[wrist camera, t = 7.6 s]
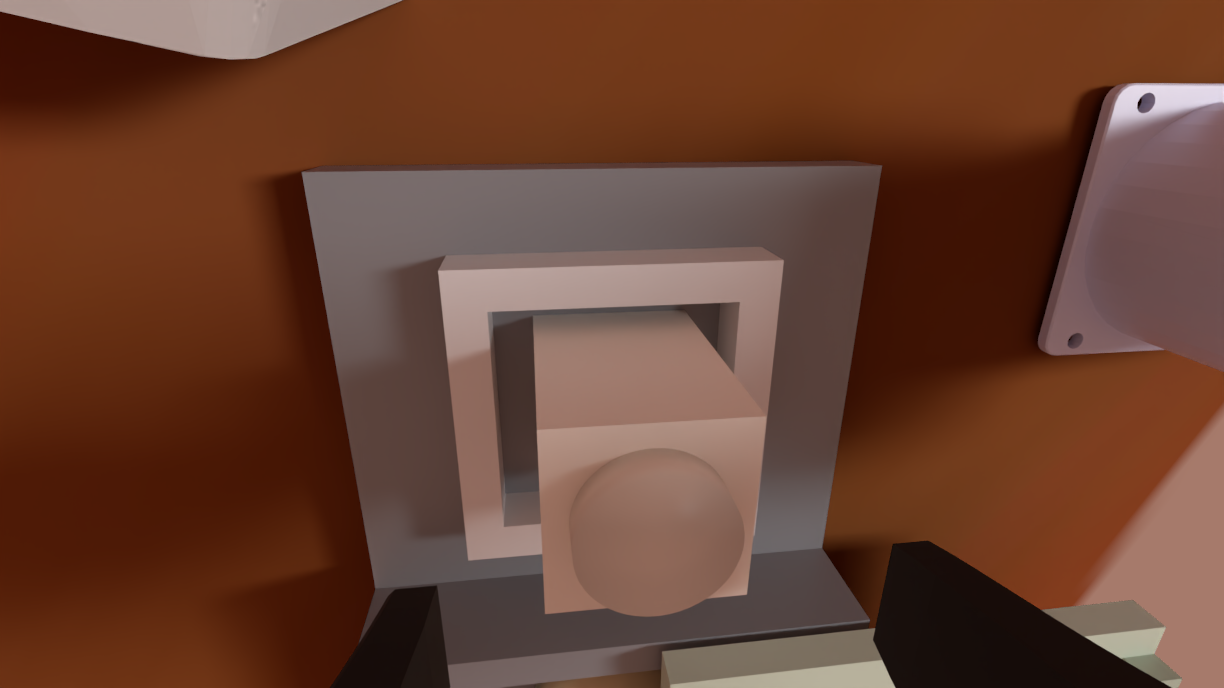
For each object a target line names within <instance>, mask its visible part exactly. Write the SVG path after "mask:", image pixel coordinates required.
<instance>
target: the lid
mask: <svg viewBox="0 0 1224 688" xmlns="http://www.w3.org/2000/svg"><path fill="white" fill-rule="evenodd" d="M1042 611H1043V612H1045V613H1047V614H1048V615H1050V616H1051V617H1053V618H1055V619H1056V620H1058V621H1060V622H1061V623H1063V624H1064V625H1066V626H1068V627H1069V628H1071V629H1073V630H1074V631H1076V632H1077V633H1079V634H1081V635H1082V636H1084V637H1086V638H1087V639H1089V640H1091V641H1092V642H1094V643H1096V644H1097V645H1099V646H1101V647H1102V648H1104V649H1106V650H1107V651H1109V652H1111V653H1112V654H1114V655H1116V656H1118V657H1119V658H1121V659H1123V660H1124V661H1126V662H1128V663H1129V664H1131V665H1133V666H1135V667H1136V668H1138V669H1140V670H1142V671H1144V672H1145V673H1147V674H1149V675H1151V676H1152V677H1154V678H1156V679H1158V680H1159V681H1161V682H1163V683H1165V684H1166V685H1168V686H1170V687H1172V688H1178V687H1179V685H1180V682H1181V681H1182V678H1181V677H1180V676H1179V675H1178V674H1177V673H1176V672H1174V671H1173V670H1172V669H1171V668H1170V667H1169V666H1168V665H1166V664H1165V663H1164V662H1163V661H1162V660H1161V659H1160V658H1158V657H1157V656H1156V655H1155V651H1156V649H1157V647H1158V644H1159V642H1160V640H1161V638H1162V635H1163V633H1164V631H1165V628H1166V627H1165V626H1164V625H1163V624H1162V623H1161V622H1159V621H1158V620H1157V619H1156V618H1154V617H1153V616H1152V615H1151V614H1150V613H1148V612H1147V611H1146V610H1145V609H1143V608H1142V607H1141V606H1140V605H1138V604H1137V603H1136V602H1135V601H1134V600H1128V601H1119V602H1110V603H1101V604H1092V605H1083V606H1073V607H1064V608H1055V609H1046V610H1042ZM874 632H875V628H872V629H863V630H854V631H845V632H836V633H827V634H817V635H808V636H799V637H790V638H781V639H772V640H763V641H753V642H744V643H735V644H726V645H717V646H708V647H699V648H689V649H680V650H671V651H662V666H661V688H895V686H894V684H893V682H892V680H891V678H890V676H889V674H888V672H887V669H886V667H885V665H884V663H883V661H882V658H881V656H880V654H879V652H878V650H877V648H876V645H875V643H874V641H873V637H874Z"/></svg>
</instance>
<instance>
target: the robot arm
mask: <svg viewBox="0 0 1224 688" xmlns="http://www.w3.org/2000/svg"><path fill="white" fill-rule="evenodd" d="M1141 97H1142V103H1141V105H1140V107H1139V109H1137V105H1138V101H1139V99H1140V98H1141ZM1072 335H1073V336H1072ZM1071 336H1072V338H1071V340H1070V341H1069V342H1068V340H1069V338H1070V337H1071ZM1038 346H1039V348H1040V349H1041V350H1042V351H1044V352H1046V353H1048V354H1050V355H1055V356H1057V355H1076V354H1094V353H1113V352H1132V351H1151V350H1168V351H1170V352H1173V353H1176V354H1178V355H1181V356H1183V357H1186V358H1189V359H1191V360H1194V361H1196V362H1199V363H1202V364H1204V365H1207V366H1209V367H1212V368H1215V369H1217V370H1220V371H1222V372H1224V84H1177V83H1126V84H1120V85H1117V86H1115V87H1114V88H1112V89H1111V90H1110V91H1109V93H1108V94H1107V95H1106V97H1105V99H1104V101H1103V104H1102V108H1101V111H1100V115H1099V118H1098V122H1097V126H1096V129H1095V133H1094V137H1093V140H1092V144H1091V148H1090V151H1089V155H1088V159H1087V162H1086V166H1085V170H1084V173H1083V177H1082V181H1081V184H1080V188H1079V191H1078V195H1077V199H1076V202H1075V206H1074V210H1073V213H1072V217H1071V221H1070V224H1069V228H1068V232H1067V235H1066V239H1065V243H1064V246H1063V250H1062V253H1061V257H1060V261H1059V264H1058V268H1057V272H1056V275H1055V279H1054V283H1053V286H1052V290H1051V294H1050V297H1049V301H1048V305H1047V308H1046V312H1045V316H1044V319H1043V323H1042V326H1041V330H1040V334H1039V337H1038ZM873 641H874V643H875V645H876V648H877V650H878V652H879V654H880V656H881V658H882V661H883V663H884V665H885V667H886V669H887V672H888V674H889V676H890V678H891V680H892V682H893V684H894V686H895V688H1172V687H1170V686H1168V685H1166V684H1165V683H1163V682H1161V681H1159V680H1158V679H1156V678H1154V677H1152V676H1151V675H1149V674H1147V673H1145V672H1144V671H1142V670H1140V669H1138V668H1136V667H1135V666H1133V665H1131V664H1129V663H1128V662H1126V661H1124V660H1123V659H1121V658H1119V657H1118V656H1116V655H1114V654H1112V653H1111V652H1109V651H1107V650H1106V649H1104V648H1102V647H1101V646H1099V645H1097V644H1096V643H1094V642H1092V641H1091V640H1089V639H1087V638H1086V637H1084V636H1082V635H1081V634H1079V633H1077V632H1076V631H1074V630H1073V629H1071V628H1069V627H1068V626H1066V625H1064V624H1063V623H1061V622H1060V621H1058V620H1056V619H1055V618H1053V617H1051V616H1050V615H1048V614H1047V613H1045V612H1043V611H1042V610H1040V609H1039V608H1037V607H1035V606H1034V605H1032V604H1031V603H1029V602H1027V601H1026V600H1024V599H1023V598H1021V597H1020V596H1018V595H1016V594H1015V593H1013V592H1012V591H1010V590H1008V589H1007V588H1005V587H1004V586H1002V585H1000V584H999V583H997V582H996V581H994V580H993V579H991V578H989V577H988V576H986V575H985V574H983V573H981V572H980V571H978V570H977V569H975V568H973V567H972V566H970V565H968V564H967V563H965V562H964V561H962V560H960V559H959V558H957V557H955V556H954V555H952V554H950V553H949V552H947V551H945V550H944V549H942V548H940V547H938V546H937V545H935V544H933V543H931V542H929V541H920V542H909V543H898V544H893V546H892V551H891V556H890V560H889V565H888V570H887V575H886V580H885V584H884V589H883V594H882V599H881V603H880V608H879V613H878V618H877V623H876V627H875V632H874V637H873ZM330 688H450V680H449V672H448V665H447V657H446V649H445V641H444V634H443V626H442V618H441V611H440V603H439V595H438V588H437V585H436V586H425V587H414V588H403V589H395V590H394V591H393V592H392V593H391V594H390V595H388V597H387V598H386V600H385V602H384V603H383V605H382V607H381V609H380V610H379V612H378V614H377V615H376V617H375V619H374V620H373V622H372V623H371V625H370V627H369V628H368V630H367V632H366V633H365V635H364V636H363V638H362V640H361V641H360V643H359V644H358V646H357V648H356V649H355V651H354V652H353V654H352V655H351V657H350V658H349V660H348V661H347V663H346V664H345V666H344V667H343V669H342V671H341V672H340V674H339V675H338V677H337V678H336V680H335V681H334V682H333V684H332V685H331V687H330Z"/></svg>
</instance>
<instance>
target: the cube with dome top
mask: <svg viewBox="0 0 1224 688" xmlns="http://www.w3.org/2000/svg"><path fill="white" fill-rule="evenodd" d="M533 335H534V364H535V393H536V422H537V446H538V469H539V491H540V513H541V536H542V558H543V580H544V603H545V614H552V613H562V612H573V611H583V610H594V609H604V608H608V609H611V610H613V611H616V612H619V613H622V614H626V615H632V616H642V617H651V616H662V615H668V614H672V613H676V612H679V611H682V610H685V609H688V608H690V607H692V606H694V605H696V604H698V603H700V602H702V601H703V600H705V599H707V598H718V597H728V596H738V595H747V589H748V580H749V571H750V562H751V553H752V544H753V534H754V525H755V516H756V507H757V498H758V489H759V480H760V471H761V461H762V452H763V443H764V434H765V425H766V415H765V414H764V412H763V411H762V410H761V409H760V407H759V406H758V405H757V403H756V402H755V401H754V399H753V398H752V397H751V396H750V394H749V393H748V392H747V390H746V389H745V388H744V387H743V385H742V384H741V383H740V381H739V380H738V379H737V377H736V376H735V375H734V374H733V372H732V371H731V370H730V368H729V367H728V366H727V365H726V363H725V362H724V361H723V359H722V358H721V357H720V355H719V354H718V353H717V352H716V350H715V349H714V348H713V346H712V345H711V344H710V343H709V341H708V340H707V339H706V337H705V336H704V335H703V333H702V332H701V331H700V330H699V328H698V327H697V326H696V324H695V323H694V322H693V321H692V319H691V318H690V317H689V315H688V314H687V313H686V311H685V310H671V311H644V312H616V313H589V314H562V315H534V316H533Z"/></svg>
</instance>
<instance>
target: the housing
mask: <svg viewBox="0 0 1224 688" xmlns="http://www.w3.org/2000/svg"><path fill="white" fill-rule="evenodd" d="M881 170H882V166H881V165H875V164H869V163H863V162H858V161H770V162H667V163H565V164H463V165H361V166H320V167H317V168H313V169H310V170H307V171H303V172H302V177H303V183H304V188H305V194H306V200H307V205H308V211H309V216H310V222H311V228H312V233H313V239H314V245H315V250H316V256H317V262H318V267H319V273H320V278H321V284H322V290H323V295H324V301H325V307H326V312H327V318H328V324H329V329H330V335H331V340H332V346H333V352H334V357H335V363H336V369H337V374H338V380H339V386H340V391H341V397H342V403H343V408H344V414H345V419H346V425H347V431H348V436H349V442H350V448H351V453H352V459H353V465H354V470H355V476H356V481H357V487H358V493H359V498H360V504H361V510H362V515H363V521H364V527H365V532H366V538H367V544H368V549H369V555H370V560H371V566H372V572H373V577H374V583H375V592H374V595H373V598H372V602H371V605H370V608H369V611H368V615H367V618H366V621H365V624H364V628H363V631H362V634H361V637H360V640H359V643H360V641H361V640H362V638H363V636H364V635H365V633H366V632H367V630H368V628H369V627H370V625H371V623H372V622H373V620H374V619H375V617H376V615H377V614H378V612H379V610H380V609H381V607H382V605H383V603H384V602H385V600H386V598H387V597H388V595H390V594H391V593H392V592H393V591H394V590H395V589H403V588H414V587H425V586H436V585H437V588H438V595H439V603H440V611H441V618H442V626H443V634H444V641H445V649H446V657H447V665H448V672H449V680H450V688H661V666H662V651H671V650H680V649H689V648H699V647H708V646H717V645H726V644H735V643H744V642H753V641H763V640H772V639H781V638H790V637H799V636H808V635H817V634H827V633H836V632H845V631H854V630H863V629H868V627H869V622H870V619H869V617H868V616H867V615H866V613H865V612H864V610H863V609H862V607H861V606H860V604H859V603H858V601H857V600H856V598H855V597H854V595H853V594H852V592H851V591H850V589H849V588H848V586H847V585H846V583H845V582H844V580H843V579H842V577H841V576H840V574H839V573H838V571H837V570H836V568H835V567H834V565H833V564H832V562H831V561H830V559H829V558H828V556H827V555H826V553H825V552H824V550H823V549H822V545H823V539H824V532H825V526H826V520H827V513H828V507H829V501H830V494H831V488H832V481H833V475H834V469H835V462H836V456H837V450H838V443H839V437H840V431H841V424H842V418H843V411H844V405H845V399H846V392H847V386H848V380H849V373H850V367H851V361H852V354H853V348H854V341H855V335H856V329H857V322H858V316H859V310H860V303H861V297H862V291H863V284H864V278H865V271H866V265H867V259H868V252H869V246H870V240H871V233H872V227H873V220H874V214H875V208H876V201H877V195H878V189H879V182H880V176H881ZM671 310H685V311H686V313H687V314H688V315H689V317H690V318H691V319H692V321H693V322H694V323H695V324H696V326H697V327H698V328H699V330H700V331H701V332H702V333H703V335H704V336H705V337H706V339H707V340H708V341H709V343H710V344H711V345H712V346H713V348H714V349H715V350H716V352H717V353H718V354H719V355H720V357H721V358H722V359H723V361H724V362H725V363H726V365H727V366H728V367H729V368H730V370H731V371H732V372H733V374H734V375H735V376H736V377H737V379H738V380H739V381H740V383H741V384H742V385H743V387H744V388H745V389H746V390H747V392H748V393H749V394H750V396H751V397H752V398H753V399H754V401H755V402H756V403H757V405H758V406H759V407H760V409H761V410H762V411H763V412H764V414H765V415H766V425H765V434H764V443H763V452H762V461H761V471H760V480H759V489H758V498H757V507H756V516H755V525H754V534H753V544H752V553H751V562H750V571H749V580H748V589H747V595H738V596H728V597H718V598H707V599H705V600H703V601H702V602H700V603H698V604H696V605H694V606H692V607H690V608H688V609H685V610H682V611H679V612H676V613H672V614H668V615H662V616H651V617H642V616H632V615H626V614H622V613H619V612H616V611H613V610H611V609H608V608H604V609H594V610H583V611H573V612H562V613H552V614H545V603H544V580H543V558H542V536H541V513H540V491H539V469H538V446H537V422H536V393H535V364H534V335H533V316H534V315H562V314H589V313H616V312H644V311H671Z"/></svg>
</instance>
